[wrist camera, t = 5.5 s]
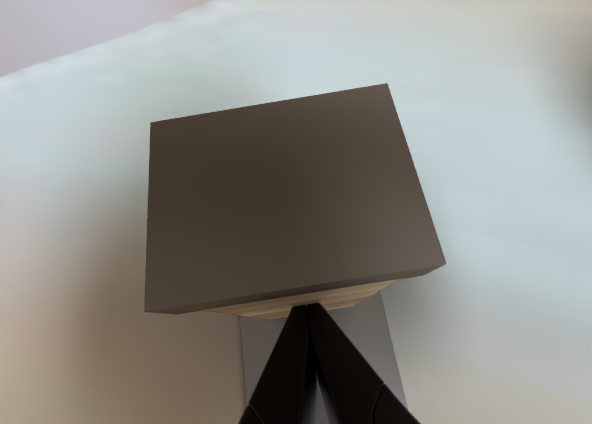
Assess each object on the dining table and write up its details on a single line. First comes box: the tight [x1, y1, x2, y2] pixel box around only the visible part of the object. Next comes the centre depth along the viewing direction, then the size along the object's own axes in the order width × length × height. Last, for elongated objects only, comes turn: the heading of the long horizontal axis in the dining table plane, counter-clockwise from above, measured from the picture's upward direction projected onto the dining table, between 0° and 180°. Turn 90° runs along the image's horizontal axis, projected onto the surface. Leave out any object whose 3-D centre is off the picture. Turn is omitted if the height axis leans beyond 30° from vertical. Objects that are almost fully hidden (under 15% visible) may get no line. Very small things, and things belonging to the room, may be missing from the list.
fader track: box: [239, 291, 408, 424], centre depth 15 cm, size 16×7×2 cm, turn 8°
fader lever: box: [144, 83, 446, 319], centre depth 10 cm, size 3×4×11 cm
